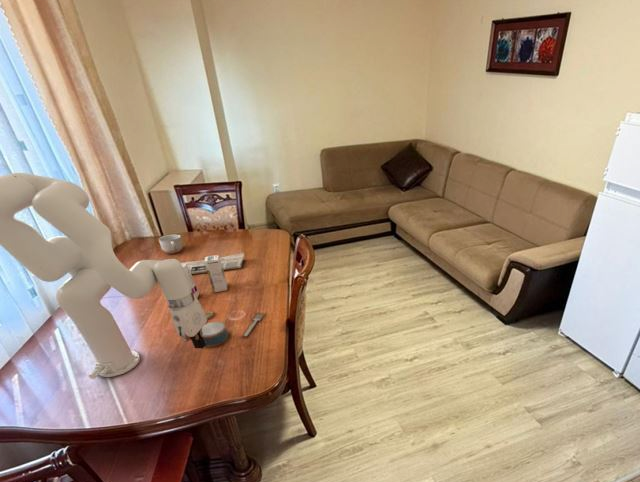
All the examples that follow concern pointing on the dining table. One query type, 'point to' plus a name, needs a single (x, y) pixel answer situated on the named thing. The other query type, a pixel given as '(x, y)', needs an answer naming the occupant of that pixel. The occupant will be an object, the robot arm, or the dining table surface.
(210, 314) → the spoon
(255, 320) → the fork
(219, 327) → the tin
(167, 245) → the teacup
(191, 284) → the supplement can
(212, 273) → the syrup box
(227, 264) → the newspaper
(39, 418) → the dining table surface
